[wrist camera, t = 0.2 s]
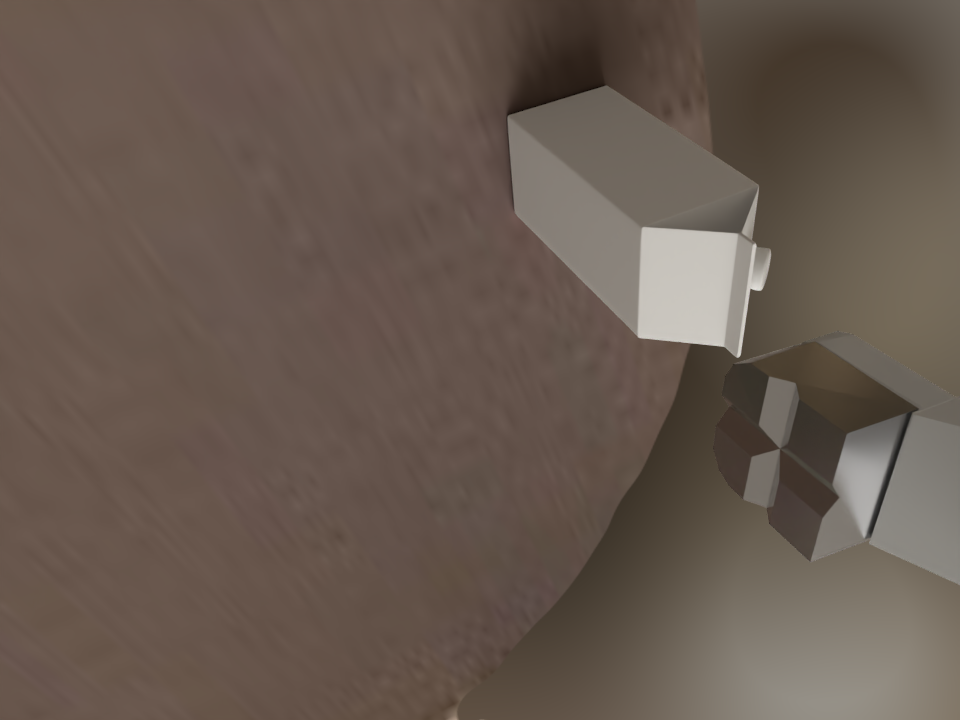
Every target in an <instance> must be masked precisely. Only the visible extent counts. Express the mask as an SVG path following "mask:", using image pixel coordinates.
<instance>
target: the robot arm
mask: <svg viewBox="0 0 960 720" xmlns="http://www.w3.org/2000/svg"><path fill="white" fill-rule="evenodd" d="M722 396H723V397H724V399H725V400H726V402H727V403H728V405H729V408H728V409H727V411H726V412H725V413H724V415H723V416H722V418H721V419H720V421H719V422H718V423H717V425H716V430H715V438H714V446H713V449H714V453H715V456H716V460H717V464H718V468H719V470H720V472H721V474H722V475H723V477H724V479H725V480H726V482H727V483H728V485H729V486H730V487H731V488H732V489H733V490H734V491H735V492H736V493H737V494H738V495H739V496H740V497H741V498H742V499H743V500H746V501H749V502H752V503H755V504H758V505H761V506H763V507H766V508H767V512H768V519H769V524H770V525H771V526H772V527H773V528H774V529H775V530H776V531H777V532H778V533H780V534H781V535H782V536H783V537H784V538H785V539H786V540H787V541H788V542H789V543H790V544H791V545H792V546H794V547H795V548H796V549H797V550H798V551H799V552H800V553H801V554H802V555H803V556H804V557H805V558H806V559H808V560H809V561H810V562H812V561H815V560H817V559H820V558H823V557H825V556H827V555H831V554H833V553H836V552H839V551H841V550H844V549H847V548H849V547H852V546H855V545H857V544H860V543H863V542H865V541H868V540H870V542H869V544H871V545H873V546H875V547H877V548H879V549H882V550H884V551H886V552H888V553H890V554H893V555H895V556H897V557H899V558H902V559H904V560H906V561H908V562H910V563H913V564H915V565H917V566H919V567H921V568H924V569H926V570H928V571H930V572H932V573H935V574H937V575H939V576H941V577H944V578H946V579H948V580H950V581H952V582H954V583H957V584H959V585H960V397H955V396H953V395H951V394H950V393H948V392H946V391H945V390H943V389H941V388H940V387H938V386H937V385H935V384H933V383H932V382H930V381H928V380H927V379H925V378H924V377H922V376H920V375H919V374H917V373H915V372H914V371H912V370H910V369H909V368H907V367H905V366H904V365H902V364H901V363H899V362H897V361H896V360H894V359H892V358H891V357H889V356H887V355H886V354H884V353H883V352H881V351H879V350H878V349H876V348H875V347H873V346H871V345H870V344H868V343H866V342H865V341H863V340H861V339H860V338H858V337H857V336H855V335H853V334H849V333H844V332H839V331H837V332H833V333H830V334H827V335H824V336H821V337H818V338H814V339H811V340H808V341H805V342H803V343H801V344H799V345H794V346H791V347H788V348H784V349H781V350H778V351H775V352H771V353H768V354H765V355H762V356H758V357H755V358H752V359H748V360H745V361H742V362H739V363H735V364H733V366H732V367H731V369H730V370H729V371H728V373H727V374H726V376H725V380H724V386H723V390H722Z"/></svg>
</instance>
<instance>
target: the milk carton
mask: <svg viewBox="0 0 960 720" xmlns="http://www.w3.org/2000/svg"><path fill="white" fill-rule="evenodd" d="M507 122H508V136H509V149H510V162H511V174H512V187H513V199H514V210H515V214H516V215H517V216H518V217H519V218H520V219H521V220H522V221H523V222H524V223H525V224H526V225H527V226H528V227H529V228H530V229H531V230H532V231H533V232H534V233H535V234H536V235H537V236H538V237H539V238H540V239H541V240H542V241H543V242H544V243H545V244H546V245H547V246H548V247H549V248H550V249H551V250H552V251H553V252H554V253H555V254H556V255H557V256H558V257H559V258H560V259H561V260H562V261H563V262H564V263H565V264H566V265H567V266H568V267H569V268H570V269H571V270H572V271H573V272H574V273H575V274H576V275H577V276H578V277H579V278H580V279H581V280H582V281H583V282H584V283H585V284H586V285H587V286H588V287H589V288H590V289H591V290H592V291H593V292H594V293H595V294H596V295H597V296H598V297H599V298H600V299H601V300H602V301H603V302H604V303H605V304H606V305H607V306H608V307H609V308H610V309H611V310H612V311H613V312H614V313H615V314H616V315H617V316H618V317H619V318H620V319H621V320H622V321H623V322H624V323H625V324H626V325H627V326H628V327H629V328H630V329H631V330H632V331H633V332H634V333H635V334H636V335H637V336H638V337H639V338H646V339H656V340H665V341H675V342H685V343H695V344H704V345H714V346H723V347H726V349H728V350H729V351H730V352H731V353H732V354H733V355H734V356H736V357H739V356H740V355H741V348H742V341H743V335H744V328H745V321H746V314H747V307H748V300H749V293H750V289H753V290H759V291H761V290H762V288H763V287H764V284H765V281H766V278H767V273H768V269H769V264H770V258H771V250H770V249H767V248H758V247H756V243H755V242H753V241H752V235H753V228H754V221H755V213H756V206H757V199H758V190H759V185H757V184H756V183H755V182H753V181H752V180H750V179H749V178H747V177H746V176H744V175H743V174H741V173H740V172H738V171H737V170H735V169H734V168H732V167H731V166H729V165H728V164H726V163H725V162H723V161H721V160H720V159H718V158H717V157H715V156H714V155H712V154H711V153H709V152H708V151H706V150H705V149H703V148H702V147H700V146H699V145H697V144H696V143H694V142H693V141H691V140H689V139H688V138H686V137H685V136H683V135H682V134H680V133H679V132H677V131H676V130H674V129H673V128H671V127H670V126H668V125H667V124H665V123H664V122H662V121H660V120H659V119H657V118H656V117H654V116H653V115H651V114H650V113H648V112H647V111H645V110H644V109H642V108H641V107H639V106H638V105H636V104H635V103H633V102H631V101H630V100H628V99H627V98H625V97H624V96H622V95H621V94H619V93H618V92H616V91H615V90H613V89H612V88H610V87H609V86H603V87H600V88H596V89H593V90H590V91H587V92H583V93H580V94H577V95H573V96H570V97H567V98H564V99H560V100H557V101H554V102H550V103H547V104H544V105H541V106H537V107H534V108H531V109H527V110H524V111H521V112H518V113H514V114H511V115H509V116H508V117H507Z"/></svg>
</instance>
